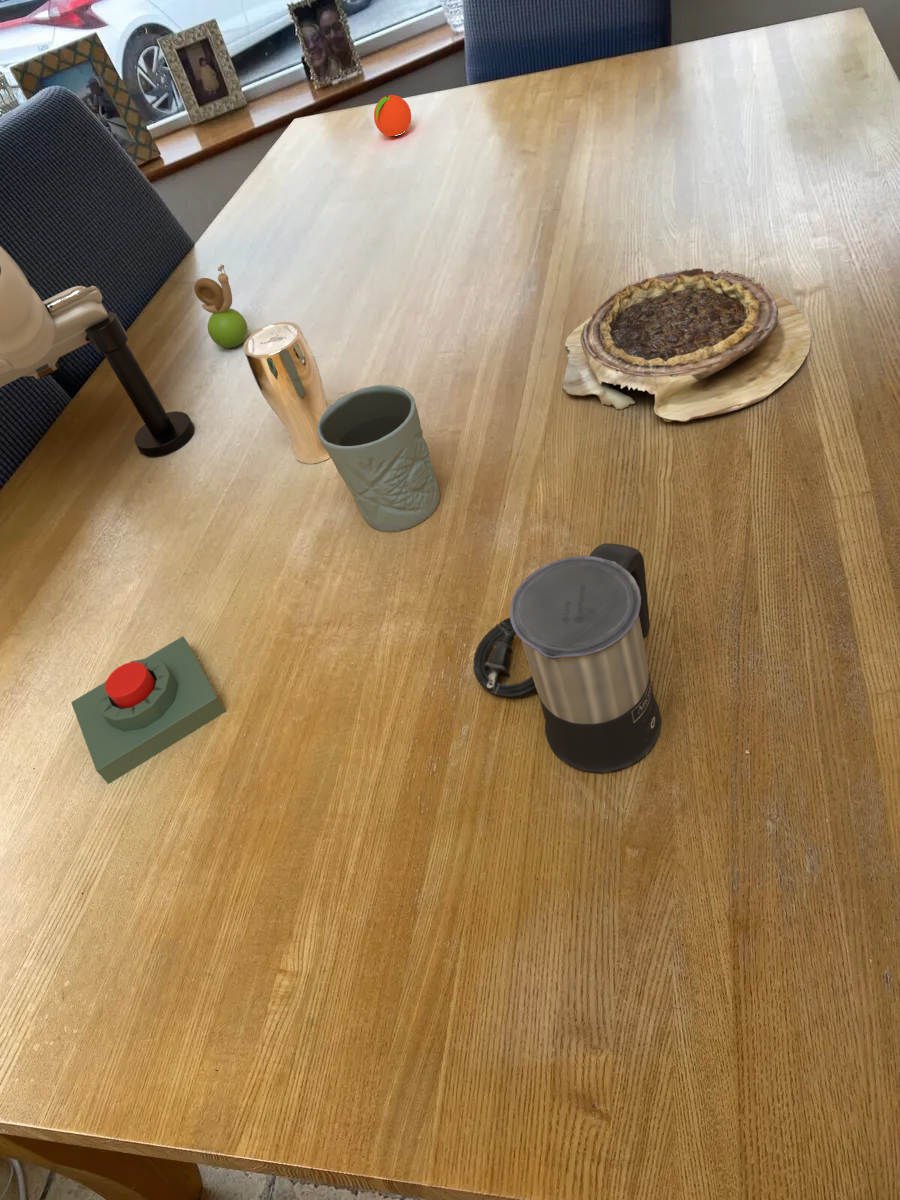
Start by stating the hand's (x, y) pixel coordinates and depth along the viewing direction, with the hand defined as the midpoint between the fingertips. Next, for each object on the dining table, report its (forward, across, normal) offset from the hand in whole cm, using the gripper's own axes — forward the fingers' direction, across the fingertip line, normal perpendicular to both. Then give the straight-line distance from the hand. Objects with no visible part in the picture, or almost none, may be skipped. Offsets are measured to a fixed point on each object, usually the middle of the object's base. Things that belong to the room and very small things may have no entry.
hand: (44, 369), depth 117 cm
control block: (-27, +6, +46) cm, 53 cm away
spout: (-1, -5, +3) cm, 6 cm away
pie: (-21, -62, +41) cm, 77 cm away
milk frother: (-43, -24, +64) cm, 80 cm away
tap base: (+4, -8, +14) cm, 17 cm away
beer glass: (-8, -23, +27) cm, 37 cm away
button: (-29, +6, +43) cm, 52 cm away
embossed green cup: (-20, -25, +40) cm, 51 cm away
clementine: (+46, -74, -29) cm, 92 cm away
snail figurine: (+14, -24, +3) cm, 28 cm away
